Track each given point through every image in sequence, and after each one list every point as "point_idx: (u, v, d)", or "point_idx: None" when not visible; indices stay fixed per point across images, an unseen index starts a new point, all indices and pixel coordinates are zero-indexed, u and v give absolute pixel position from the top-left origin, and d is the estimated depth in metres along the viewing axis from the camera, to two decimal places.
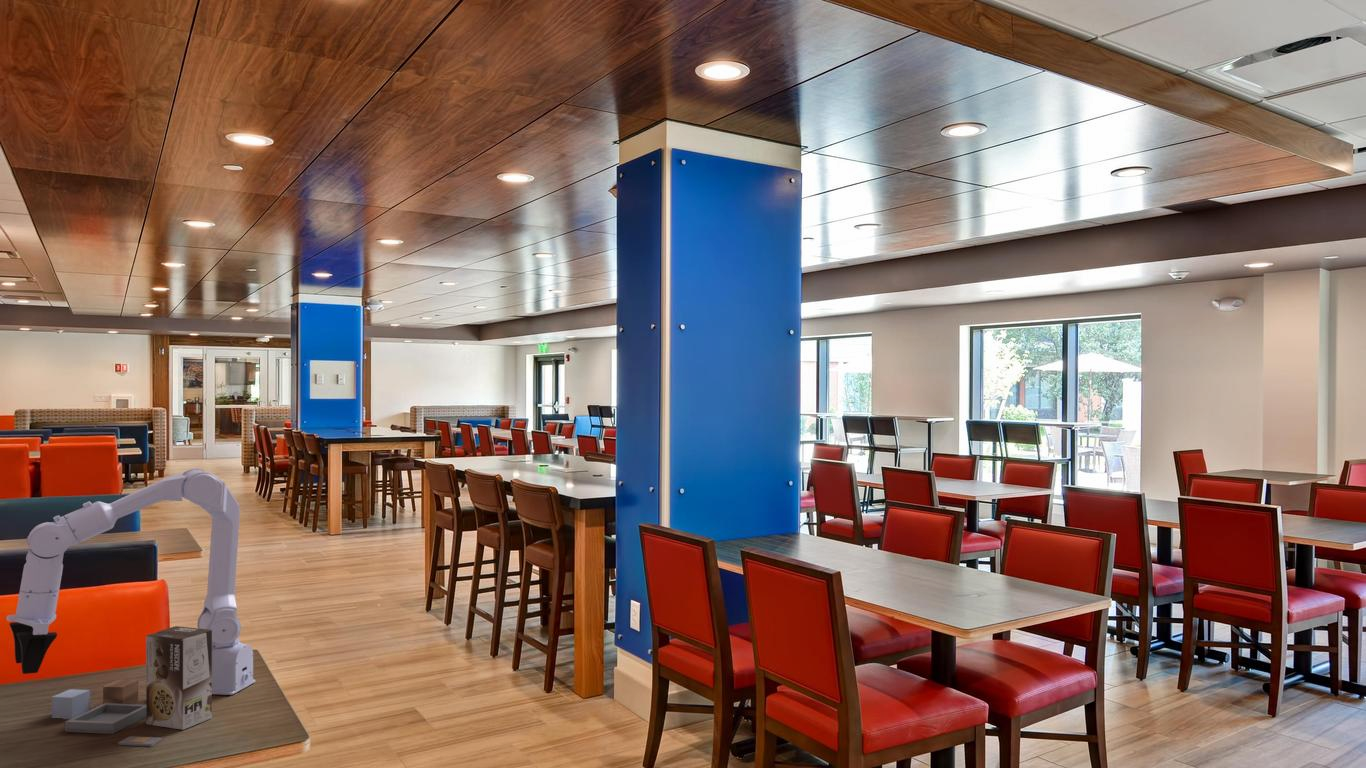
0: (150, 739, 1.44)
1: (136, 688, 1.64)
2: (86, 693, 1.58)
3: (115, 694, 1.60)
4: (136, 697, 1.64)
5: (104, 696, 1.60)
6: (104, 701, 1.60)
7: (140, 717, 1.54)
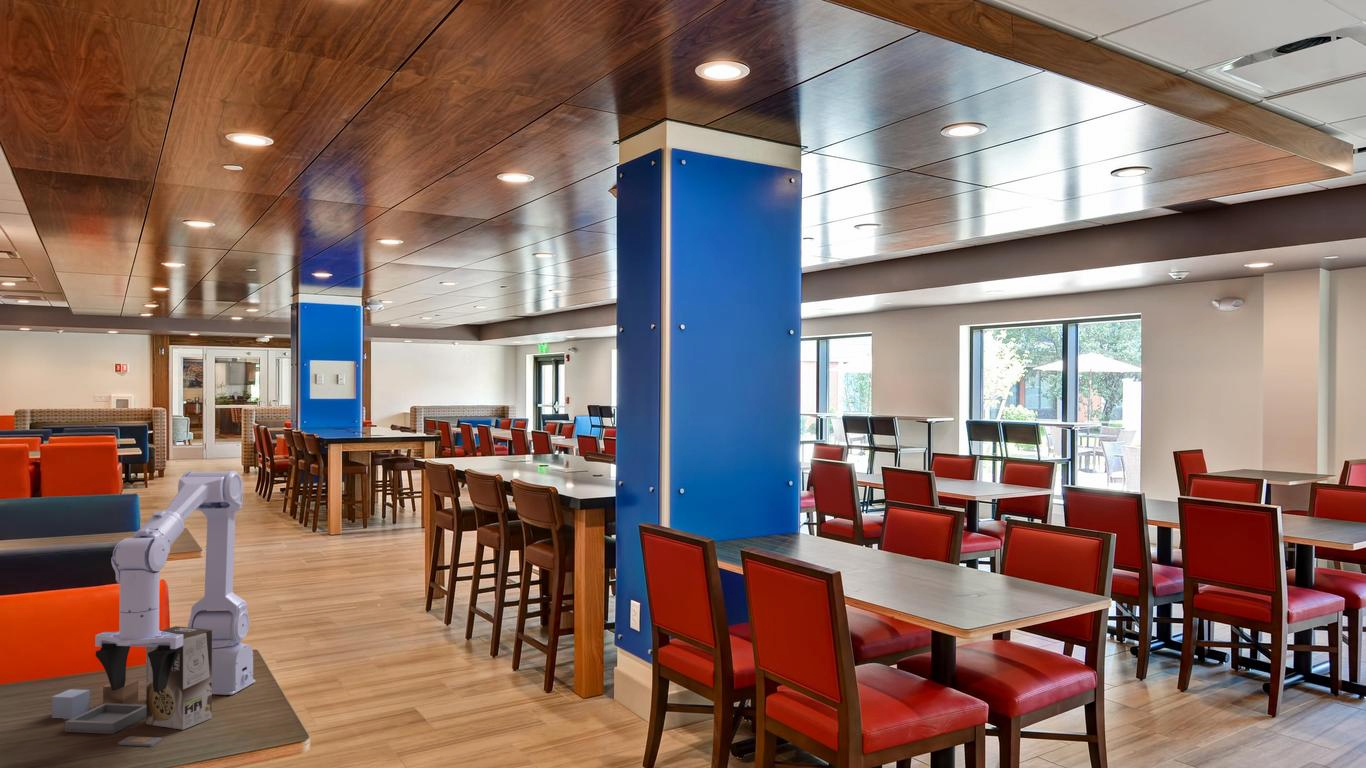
0: (150, 739, 1.44)
1: (136, 688, 1.64)
2: (86, 693, 1.58)
3: (115, 694, 1.60)
4: (136, 697, 1.64)
5: (104, 696, 1.60)
6: (104, 701, 1.60)
7: (140, 717, 1.54)
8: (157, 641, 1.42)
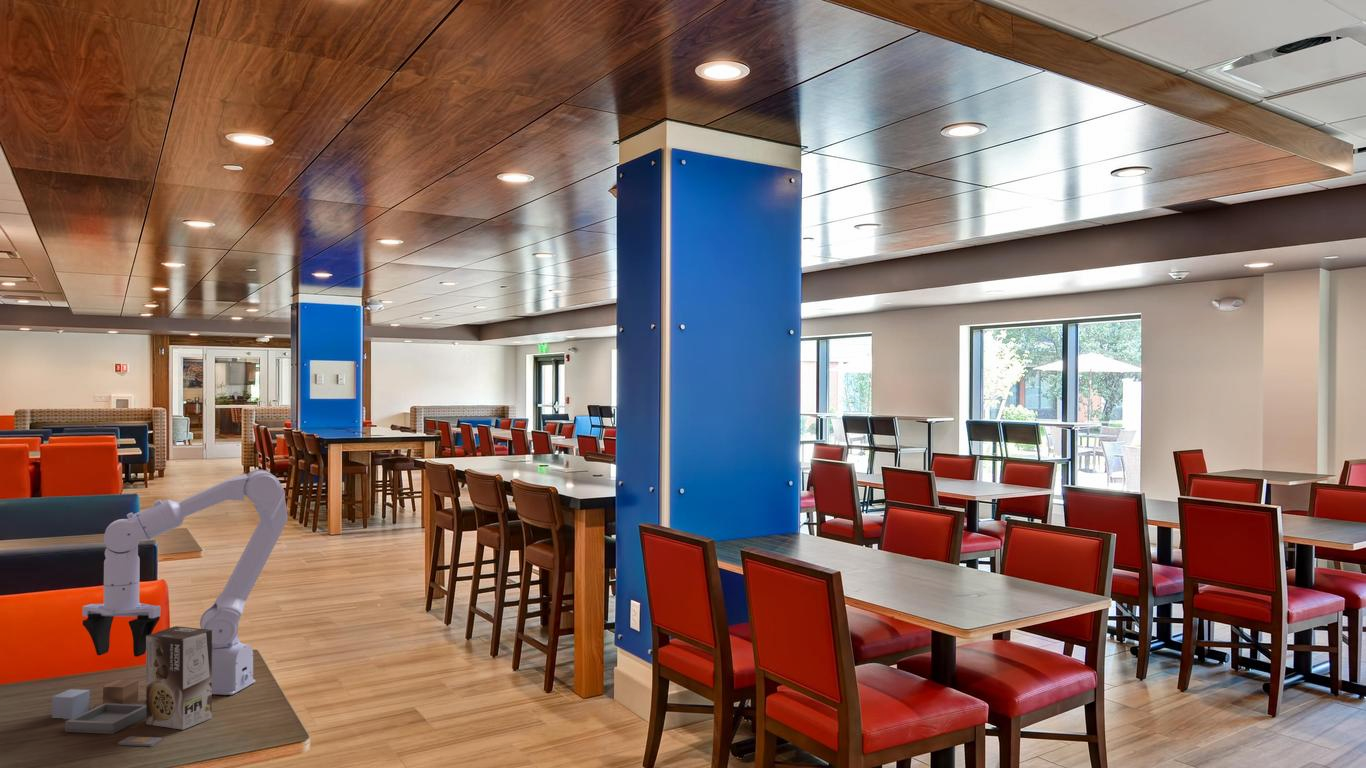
0: (150, 739, 1.44)
1: (136, 687, 1.64)
2: (86, 693, 1.58)
3: (115, 694, 1.60)
4: (136, 697, 1.64)
5: (104, 696, 1.60)
6: (104, 701, 1.60)
7: (140, 717, 1.54)
8: (137, 611, 1.60)
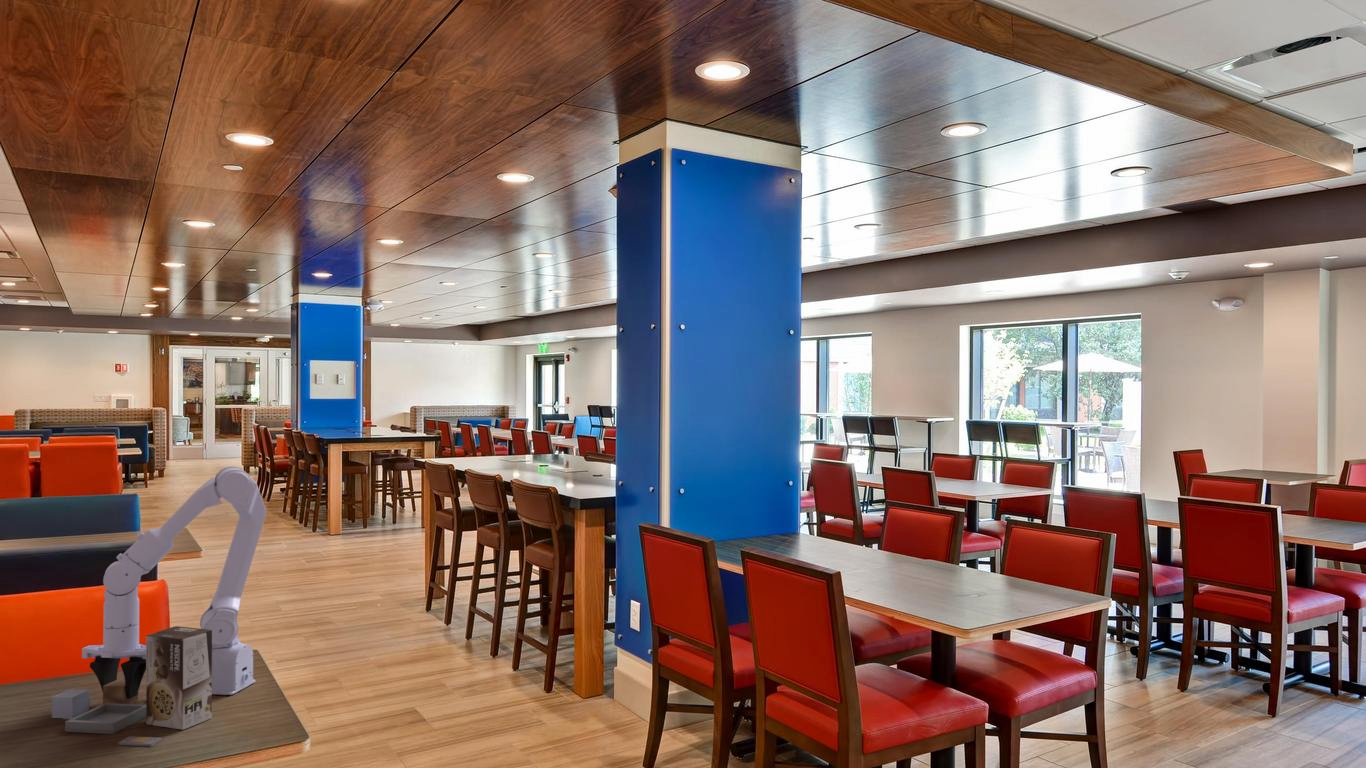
0: (150, 739, 1.44)
1: None
2: (86, 693, 1.58)
3: (115, 693, 1.60)
4: (136, 696, 1.64)
5: (104, 695, 1.60)
6: (104, 700, 1.60)
7: (140, 717, 1.54)
8: (137, 653, 1.60)
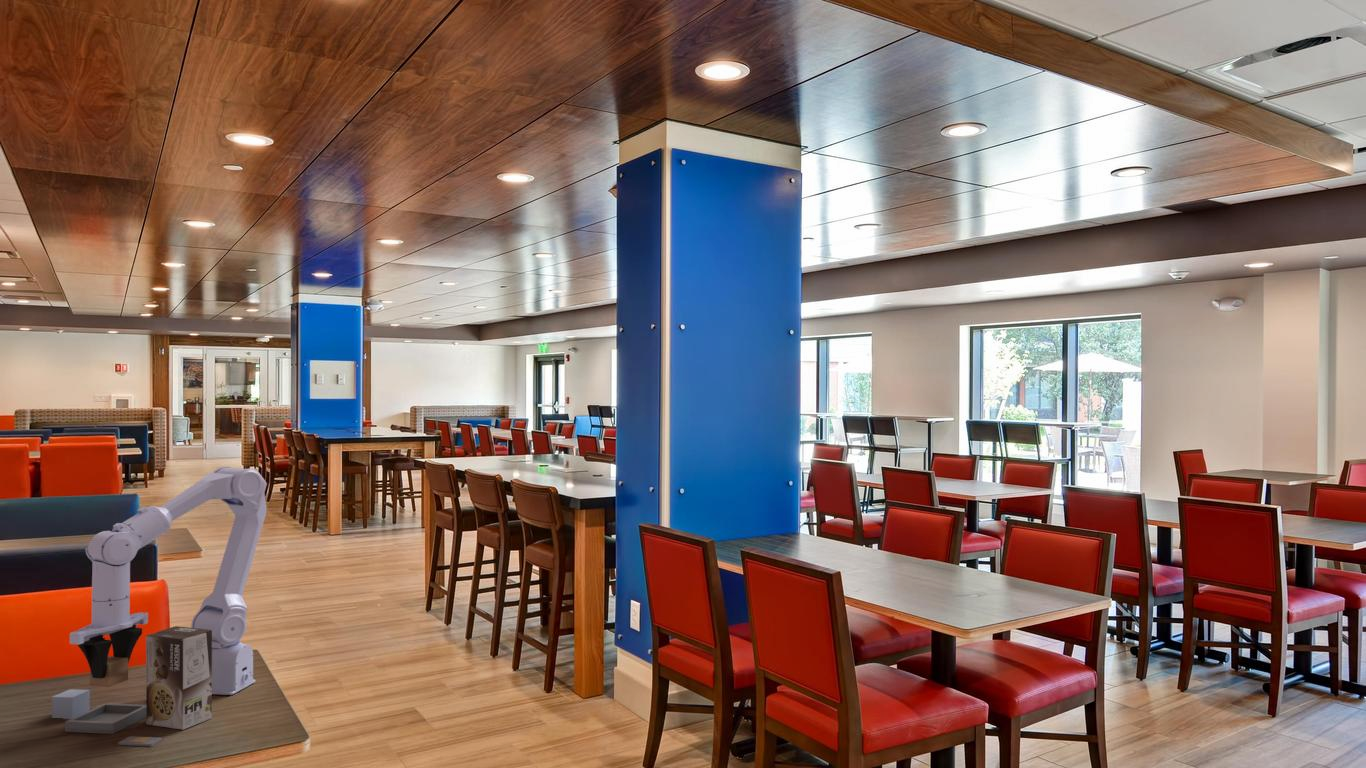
0: (150, 739, 1.44)
1: None
2: (86, 693, 1.58)
3: (121, 668, 1.54)
4: None
5: (110, 674, 1.52)
6: (110, 679, 1.52)
7: (140, 717, 1.54)
8: (138, 619, 1.58)
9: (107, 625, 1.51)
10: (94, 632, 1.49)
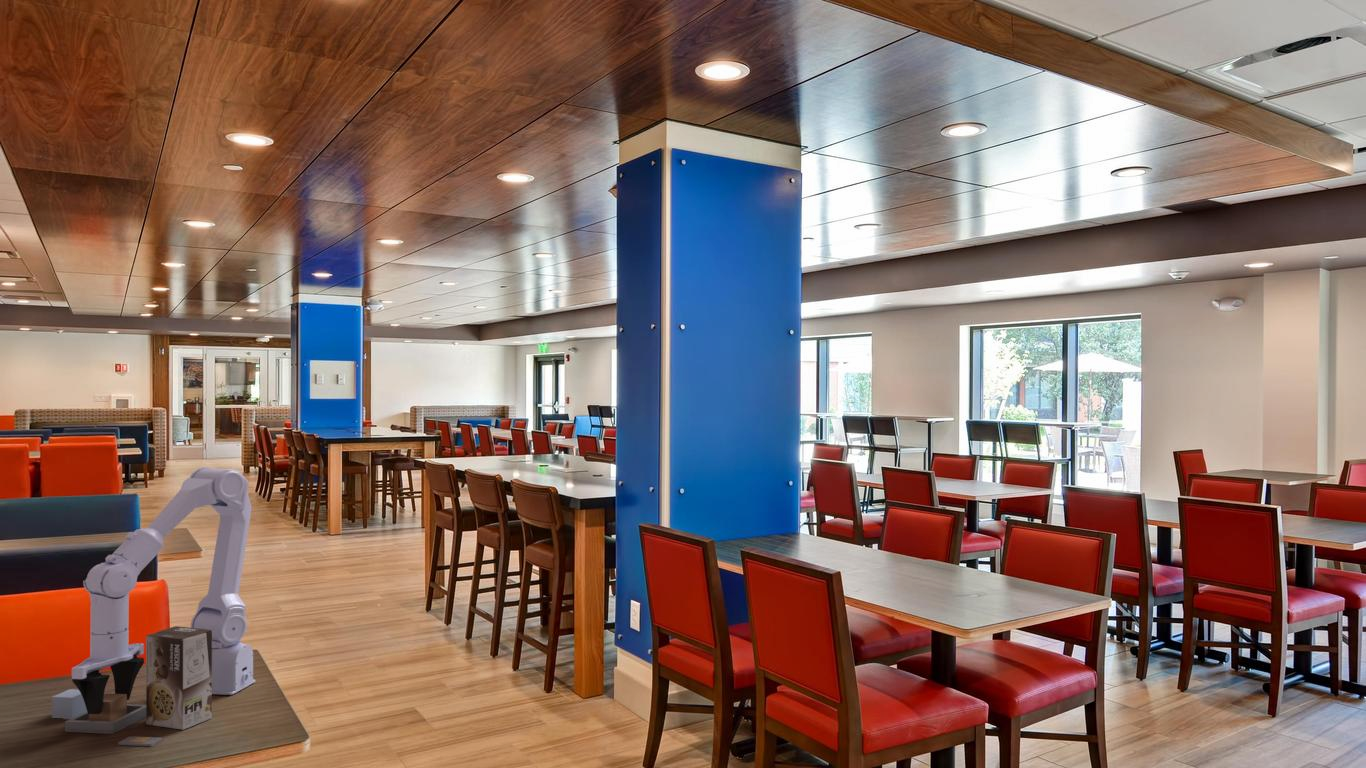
0: (150, 739, 1.44)
1: None
2: None
3: (120, 704, 1.53)
4: None
5: (111, 711, 1.51)
6: (111, 717, 1.51)
7: (140, 717, 1.54)
8: (136, 650, 1.57)
9: (108, 658, 1.50)
10: (96, 666, 1.48)
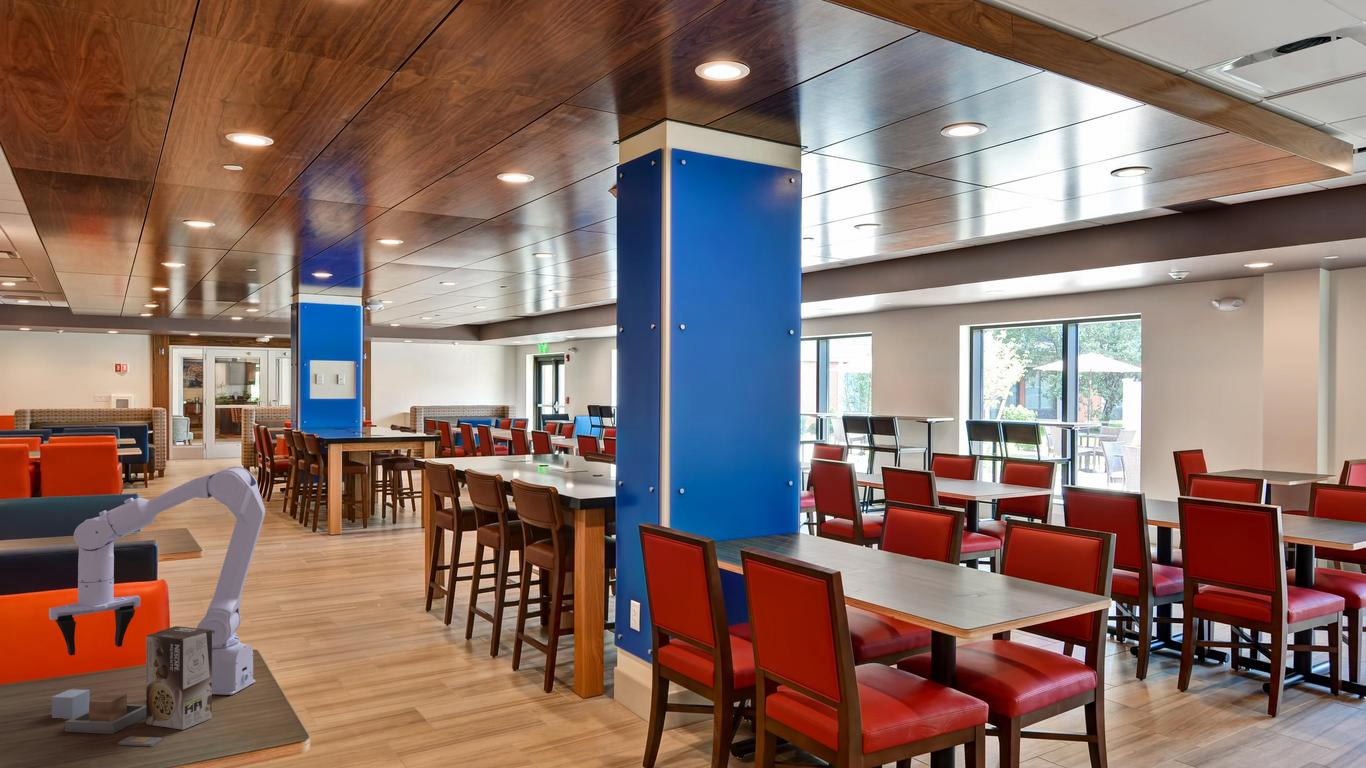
0: (150, 739, 1.44)
1: None
2: (86, 693, 1.58)
3: (120, 704, 1.53)
4: None
5: (111, 711, 1.51)
6: (111, 717, 1.51)
7: (140, 717, 1.54)
8: (125, 602, 1.67)
9: (83, 605, 1.62)
10: (67, 610, 1.61)
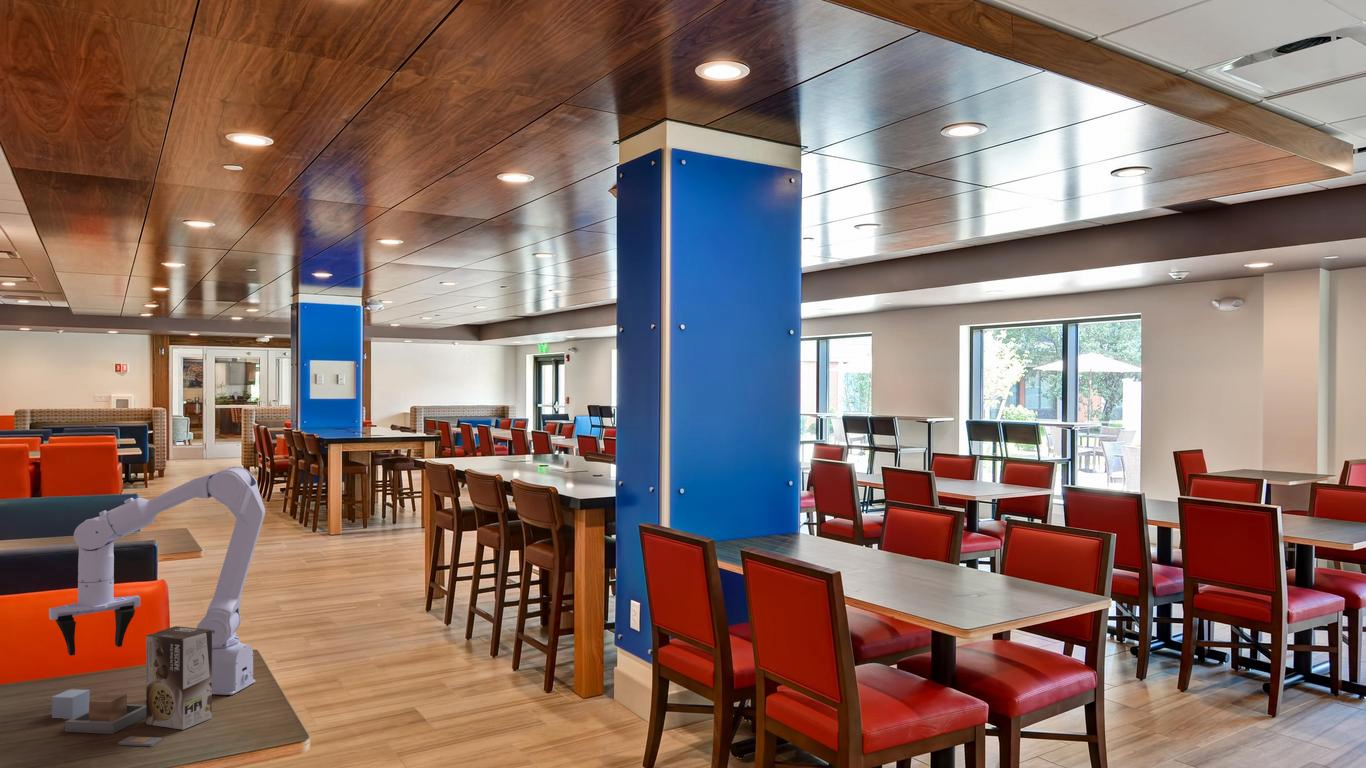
0: (150, 739, 1.44)
1: None
2: (86, 693, 1.58)
3: (120, 704, 1.53)
4: None
5: (111, 711, 1.51)
6: (111, 717, 1.51)
7: (140, 717, 1.54)
8: (125, 602, 1.67)
9: (83, 605, 1.62)
10: (67, 610, 1.61)
